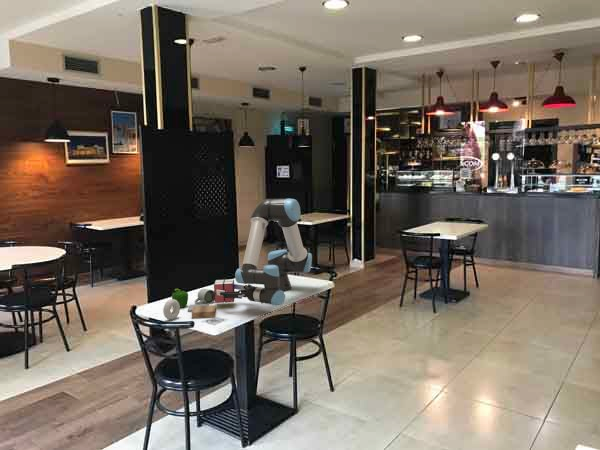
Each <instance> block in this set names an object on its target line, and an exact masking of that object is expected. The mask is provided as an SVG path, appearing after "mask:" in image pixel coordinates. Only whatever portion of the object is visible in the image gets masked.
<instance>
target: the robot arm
mask: <svg viewBox="0 0 600 450" xmlns="http://www.w3.org/2000/svg"><path fill="white" fill-rule="evenodd" d="M301 214H302V213H301V206H300V203H299V202H298V200H297V199H294V198H290V197H289V198H266V199H264V200H262V201H261V202H260V203H258V205H257V206H256V207H255V208H254V209H253V211H252V214H251V217H250V221H249V222H250V229H249V235H248V238H247V243H246V248H245V252H244V257H243V262H242V265H241V267H240V268H237V269H236V271H235V274H234V278H235V279H234V280H235V281H236V283H234V290H235V291H233V292H227V291H223V290H216V293H217V295H220V296H223V298H235V299H238V300H239V299H240V300H242V299H243V298H247V299H248V301H251V302H255V303H256V302H257V303H260V304H262V305H263V304H265V305H267V304H268V305H271V306H282V304H284V302H285V299H286V294H285V292H286V291H289V290H291V289H292V283H291V281H290V278H289V274H288V273H297V274H298V273H301V274H304V273H310V271H311V269H312V262H313V254H312V253H311V252H308V250H307V249H306V248H305V247H304V245H303V241H302V236H301V233H300V229H299V227H298V222H299V220H300V218H301ZM270 221H271V222H272V221H276V222H277V225H278V226H279V227H281V229H282V231H283V235H284V239H285V241H286V242H285V243H286V246H287V249H278V250H273V251H270V252H269V253H268V254H267V265H264V266H263V268H259V269H258V264H259V261H260V260H259V259H260V254H261V251H262V245H263V241H264V237H265V231H266V228H267V226H268V225H269V222H270ZM253 285H254V286H253ZM255 285H263V286H262V287H261V286H255Z"/></svg>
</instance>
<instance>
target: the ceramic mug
mask: <svg viewBox="0 0 600 450" xmlns="http://www.w3.org/2000/svg"><path fill="white" fill-rule="evenodd" d="M214 294H215V293H214V289H210V288H202V289H200V290H199V291H198V292H197V298H196V299H195V300H194V305H195V304H209V305H210V304H211V305H212V304H213V303H215V296H214Z"/></svg>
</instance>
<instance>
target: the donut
mask: <svg viewBox="0 0 600 450" xmlns="http://www.w3.org/2000/svg"><path fill="white" fill-rule="evenodd" d="M171 308H172V312H171ZM162 309H163V311H162V312H163V316H164V317H165V318H166V319H167V320H170V321H172V320H175V319H176V318H177V317H178V316H179V314H180V312H181V307H180V305H179V302H178V301H177V300H174V299H172V298H171V299H168V300H166V302H165V303H164V305H163V308H162Z"/></svg>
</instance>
